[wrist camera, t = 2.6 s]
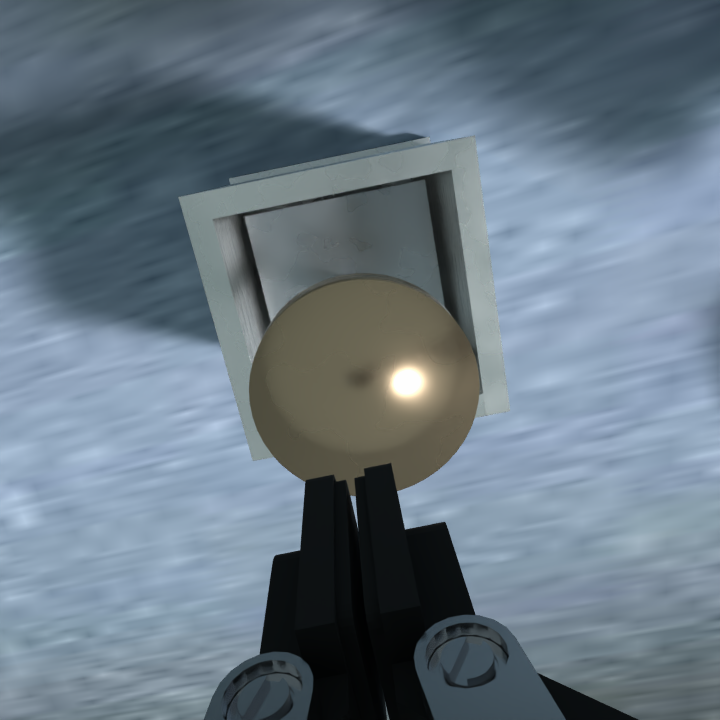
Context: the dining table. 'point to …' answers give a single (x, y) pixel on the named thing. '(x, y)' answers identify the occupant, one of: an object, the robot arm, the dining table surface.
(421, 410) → the plunger
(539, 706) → the robot arm
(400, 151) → the white open square box
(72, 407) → the dining table surface
